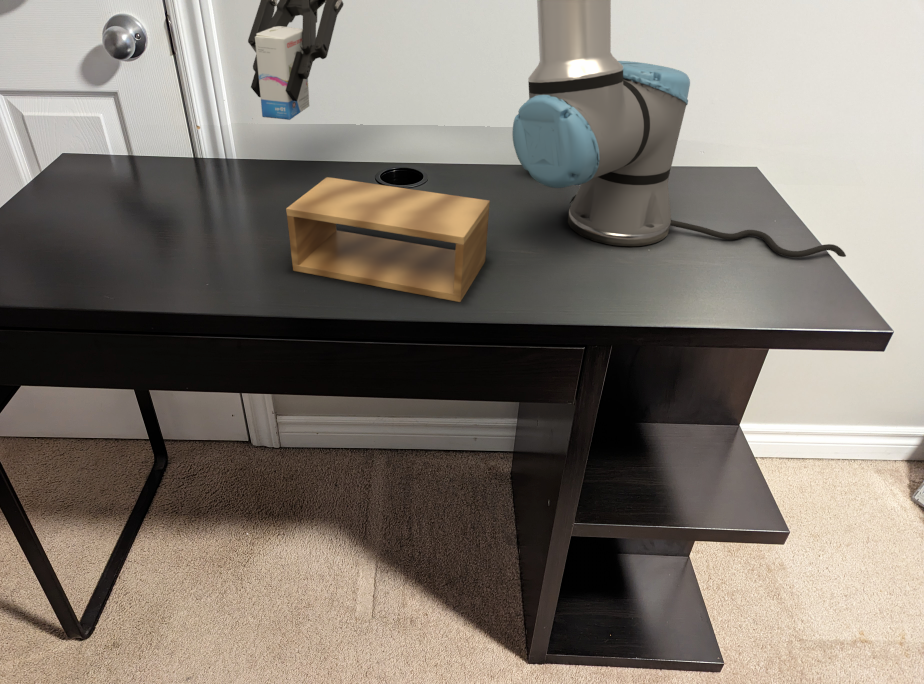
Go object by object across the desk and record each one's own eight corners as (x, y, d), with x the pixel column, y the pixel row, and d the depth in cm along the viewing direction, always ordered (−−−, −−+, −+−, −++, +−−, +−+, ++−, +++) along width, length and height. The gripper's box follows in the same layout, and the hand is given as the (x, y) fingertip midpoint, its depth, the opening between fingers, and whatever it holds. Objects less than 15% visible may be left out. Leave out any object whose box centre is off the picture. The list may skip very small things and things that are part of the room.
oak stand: (485, 261, 96) (490, 200, 90) (460, 302, 87) (463, 237, 81) (331, 235, 102) (326, 176, 97) (293, 270, 93) (285, 208, 88)
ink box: (291, 121, 106) (283, 37, 99) (261, 118, 107) (251, 34, 100) (311, 106, 112) (305, 26, 105) (283, 103, 113) (275, 24, 106)
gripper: (373, -22, 108) (336, 113, 106) (272, -27, 113) (234, 102, 111) (358, -59, 101) (318, 85, 99) (251, -63, 106) (210, 74, 104)
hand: (274, 93), depth 105 cm, fingers closed on ink box, 5 cm apart
